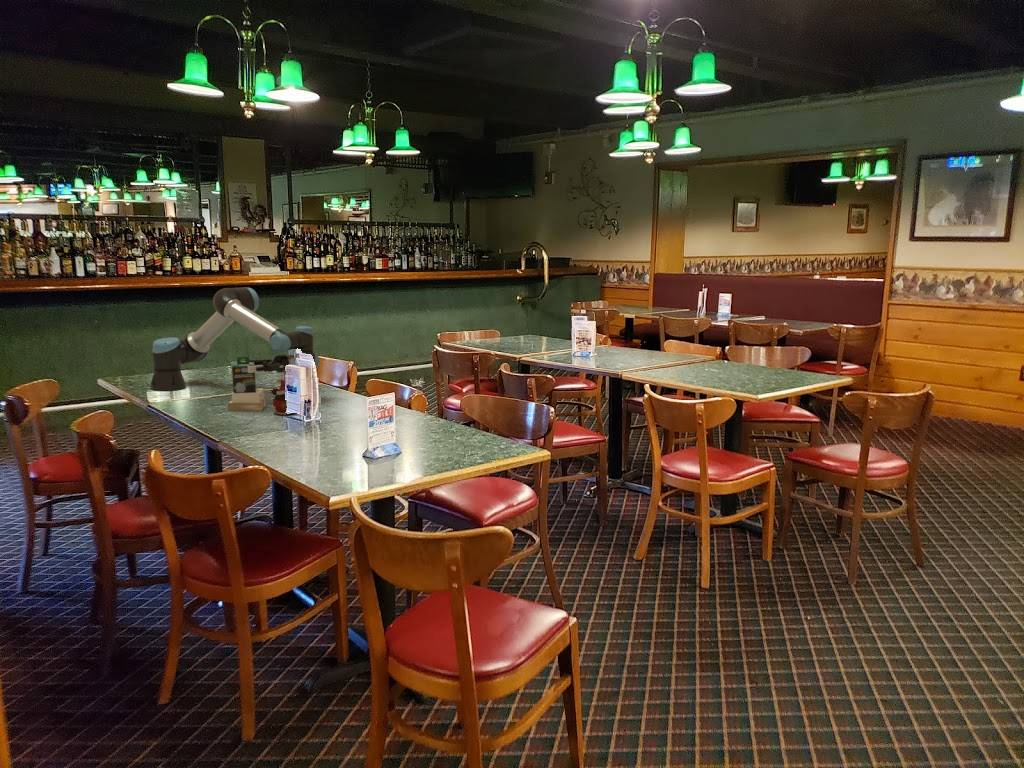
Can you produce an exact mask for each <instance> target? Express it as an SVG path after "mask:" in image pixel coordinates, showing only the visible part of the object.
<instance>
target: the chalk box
mask: <svg viewBox="0 0 1024 768" xmlns="http://www.w3.org/2000/svg"><path fill="white" fill-rule="evenodd" d="M236 359H237V360H236V362H237V363H232V369H231V373H232V374H231V376H232V392H233V393H246V392H256V388H257V385H256V384H257V383H256V372H254V373H248V366H255V365H254V362H249V360H250V356H248V355H247V356H242V355H241V356H237V357H236ZM241 360H246V361H245V362H241Z"/></svg>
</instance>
